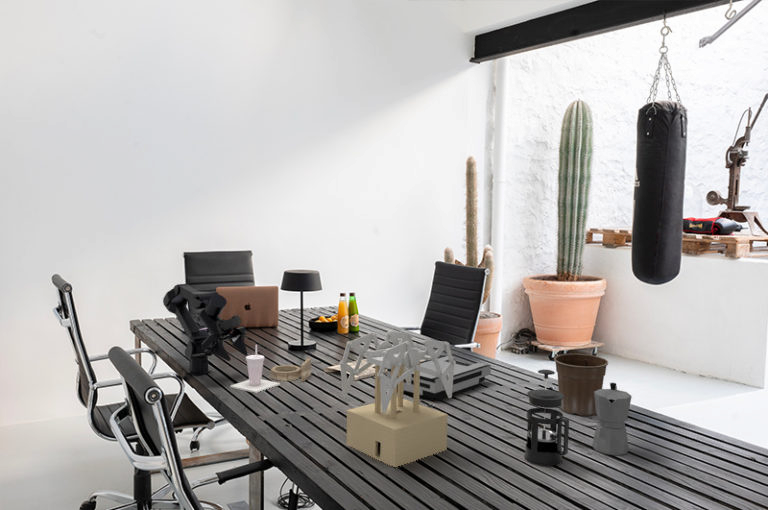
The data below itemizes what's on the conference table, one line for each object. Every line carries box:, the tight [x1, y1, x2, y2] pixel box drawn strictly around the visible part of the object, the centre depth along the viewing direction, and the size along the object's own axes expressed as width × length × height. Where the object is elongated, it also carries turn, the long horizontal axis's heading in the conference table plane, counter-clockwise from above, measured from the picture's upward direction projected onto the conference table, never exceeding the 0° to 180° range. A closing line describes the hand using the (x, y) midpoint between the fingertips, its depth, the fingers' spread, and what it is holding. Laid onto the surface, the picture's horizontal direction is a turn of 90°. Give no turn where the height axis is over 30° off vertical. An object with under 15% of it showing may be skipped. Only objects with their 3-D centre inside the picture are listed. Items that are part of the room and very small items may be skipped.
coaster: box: [229, 378, 281, 394], centre depth 230 cm, size 12×12×1 cm
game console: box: [386, 355, 492, 402], centre depth 232 cm, size 21×32×8 cm, turn 138°
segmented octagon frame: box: [270, 357, 312, 382], centre depth 242 cm, size 13×10×6 cm
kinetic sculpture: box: [339, 330, 456, 468], centre depth 175 cm, size 25×20×30 cm
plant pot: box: [553, 353, 609, 417], centre depth 208 cm, size 16×16×16 cm
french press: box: [524, 369, 570, 467], centre depth 168 cm, size 12×9×23 cm
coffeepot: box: [591, 382, 633, 456], centre depth 177 cm, size 15×9×18 cm, turn 159°
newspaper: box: [323, 358, 425, 382], centre depth 258 cm, size 37×19×3 cm, turn 134°
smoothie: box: [245, 344, 265, 386], centre depth 229 cm, size 6×6×14 cm
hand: (238, 357), depth 233 cm, fingers open, 9 cm apart
